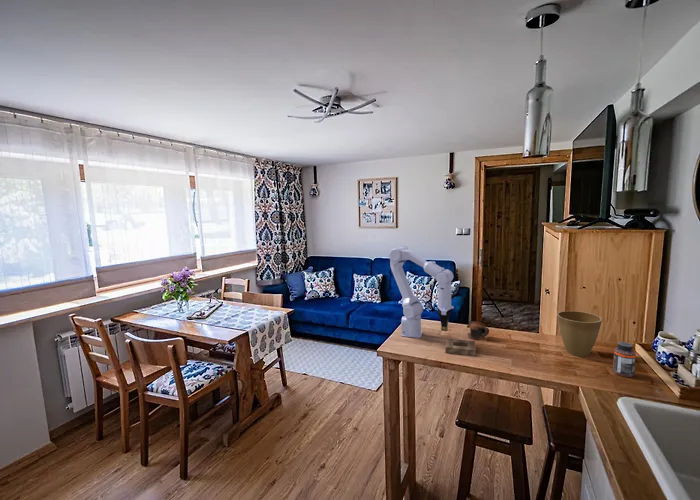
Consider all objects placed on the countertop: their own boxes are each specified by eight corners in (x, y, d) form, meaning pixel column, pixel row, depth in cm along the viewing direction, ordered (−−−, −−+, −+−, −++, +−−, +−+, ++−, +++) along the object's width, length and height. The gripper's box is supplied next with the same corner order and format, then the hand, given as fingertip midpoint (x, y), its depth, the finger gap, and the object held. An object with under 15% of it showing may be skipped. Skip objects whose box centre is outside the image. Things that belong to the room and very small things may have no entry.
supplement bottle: (612, 368, 121) (614, 339, 119) (633, 372, 117) (636, 343, 116) (612, 374, 116) (614, 344, 115) (634, 379, 112) (636, 348, 111)
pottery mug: (461, 337, 155) (463, 320, 158) (473, 341, 160) (475, 325, 162) (482, 338, 145) (484, 320, 148) (495, 343, 149) (497, 326, 152)
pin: (440, 330, 147) (441, 316, 146) (441, 328, 150) (441, 314, 149) (447, 331, 146) (448, 316, 145) (448, 329, 148) (448, 314, 148)
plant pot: (570, 343, 143) (572, 308, 142) (607, 356, 130) (610, 318, 128) (547, 349, 138) (549, 313, 136) (584, 364, 124) (586, 324, 122)
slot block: (445, 352, 138) (445, 347, 137) (446, 343, 147) (446, 338, 147) (475, 356, 134) (475, 350, 133) (474, 346, 143) (474, 341, 143)
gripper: (453, 301, 138) (453, 331, 139) (454, 293, 151) (453, 321, 153) (436, 300, 140) (436, 330, 142) (438, 292, 154) (438, 319, 155)
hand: (444, 325), depth 147 cm, fingers closed on pin, 3 cm apart
